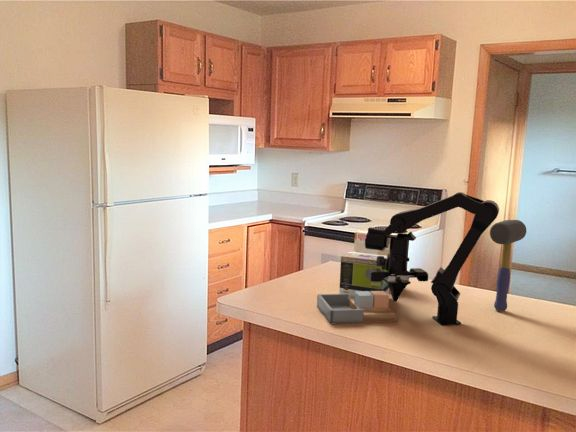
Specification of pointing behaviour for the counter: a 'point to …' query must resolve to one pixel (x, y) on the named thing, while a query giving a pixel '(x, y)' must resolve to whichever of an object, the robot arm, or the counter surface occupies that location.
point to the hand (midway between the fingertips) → (394, 301)
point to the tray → (338, 309)
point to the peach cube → (380, 299)
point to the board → (374, 313)
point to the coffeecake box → (360, 244)
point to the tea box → (359, 274)
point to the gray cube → (363, 299)
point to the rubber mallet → (505, 255)
